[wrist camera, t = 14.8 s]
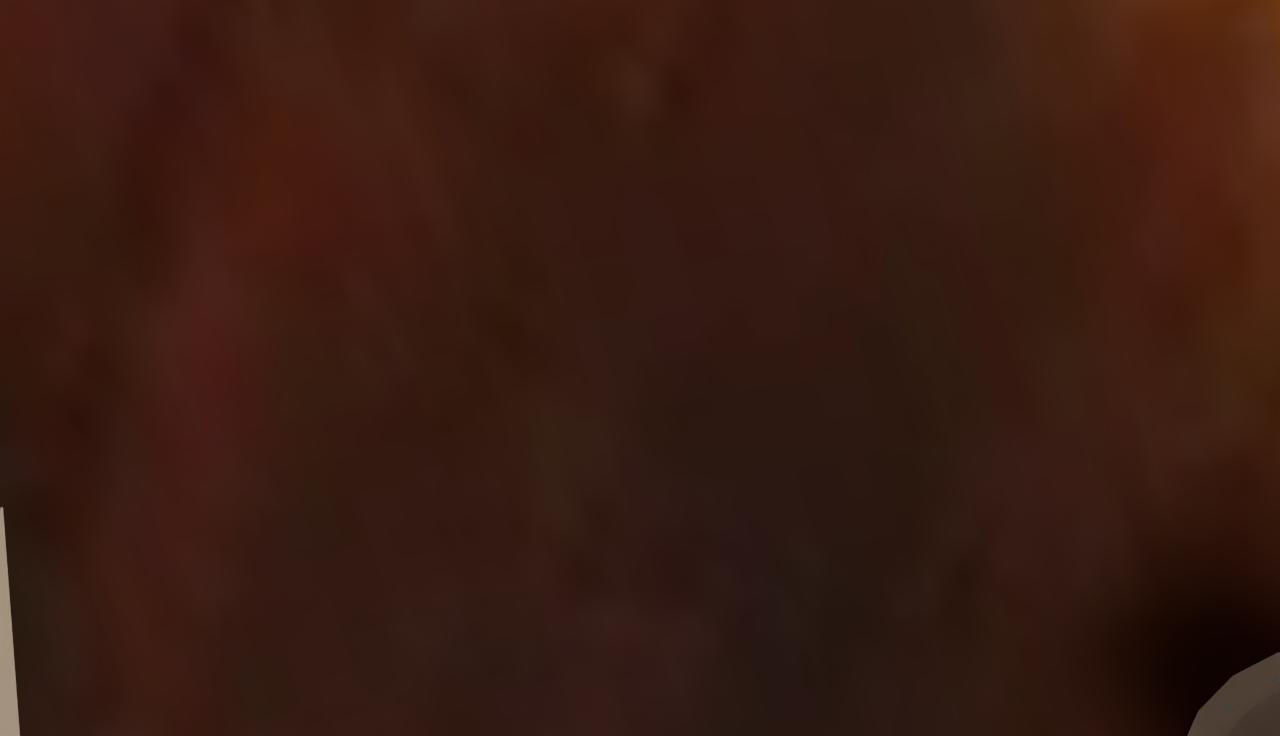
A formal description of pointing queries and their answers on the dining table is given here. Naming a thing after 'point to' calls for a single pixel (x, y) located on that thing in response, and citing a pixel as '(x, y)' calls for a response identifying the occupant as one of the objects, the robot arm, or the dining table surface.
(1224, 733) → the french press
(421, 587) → the dining table surface
